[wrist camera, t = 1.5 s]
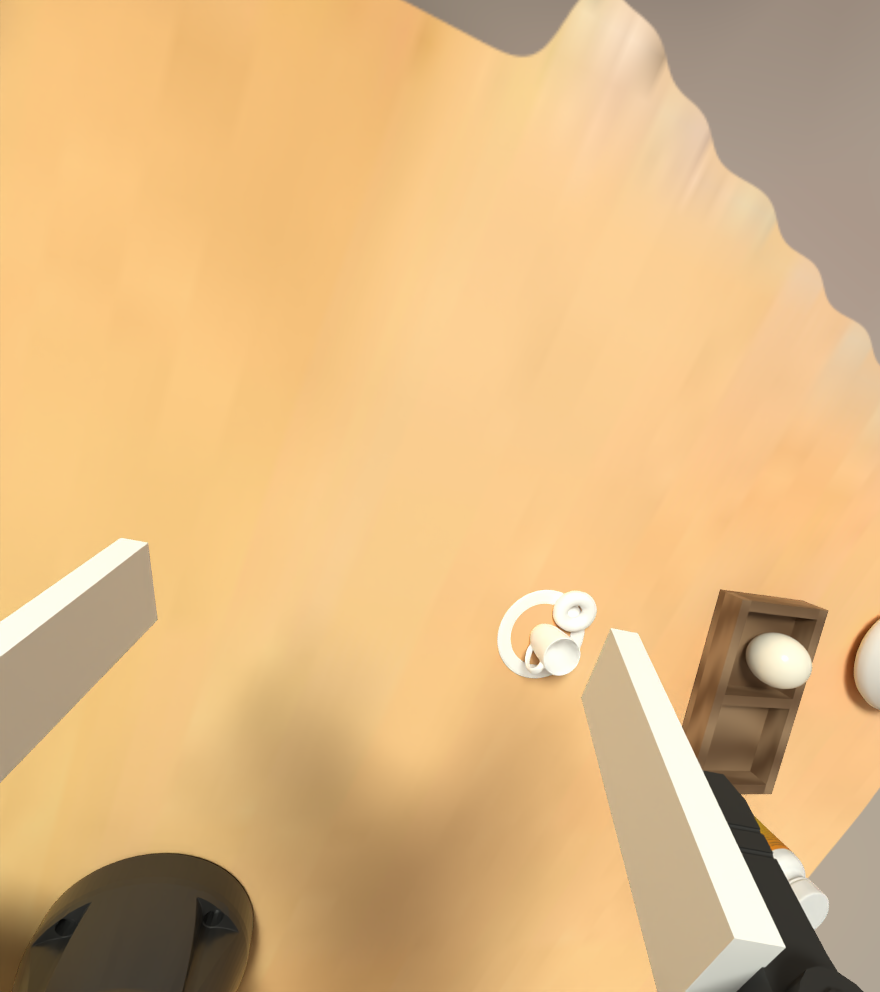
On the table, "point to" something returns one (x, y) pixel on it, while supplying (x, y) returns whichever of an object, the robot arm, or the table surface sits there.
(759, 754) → the tray
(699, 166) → the table surface
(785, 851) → the supplement bottle
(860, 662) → the flower in vase
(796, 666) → the egg
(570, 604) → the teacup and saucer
